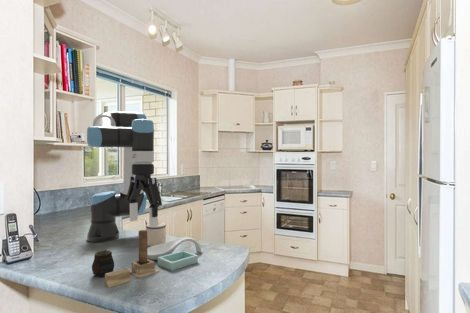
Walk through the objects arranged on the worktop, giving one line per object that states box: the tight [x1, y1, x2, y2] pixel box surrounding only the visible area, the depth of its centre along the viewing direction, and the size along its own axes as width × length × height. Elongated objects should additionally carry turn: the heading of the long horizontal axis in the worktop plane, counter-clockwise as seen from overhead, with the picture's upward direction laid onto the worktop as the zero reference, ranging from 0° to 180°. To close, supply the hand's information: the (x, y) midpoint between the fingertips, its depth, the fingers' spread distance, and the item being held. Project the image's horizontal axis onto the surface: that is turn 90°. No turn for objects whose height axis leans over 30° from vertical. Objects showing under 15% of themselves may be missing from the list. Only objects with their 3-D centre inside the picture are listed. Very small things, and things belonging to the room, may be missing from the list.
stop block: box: [104, 267, 131, 288], centre depth 101 cm, size 3×7×4 cm, turn 136°
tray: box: [157, 250, 199, 272], centre depth 119 cm, size 9×12×3 cm
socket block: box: [129, 258, 160, 279], centre depth 111 cm, size 8×8×4 cm
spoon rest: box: [147, 236, 202, 261], centre depth 130 cm, size 24×12×7 cm, turn 118°
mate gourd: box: [91, 249, 115, 278], centre depth 109 cm, size 7×8×10 cm
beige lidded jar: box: [145, 220, 167, 247], centre depth 147 cm, size 12×9×12 cm
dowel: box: [138, 229, 148, 265], centre depth 111 cm, size 3×3×14 cm
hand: (143, 223), depth 110 cm, fingers open, 13 cm apart
